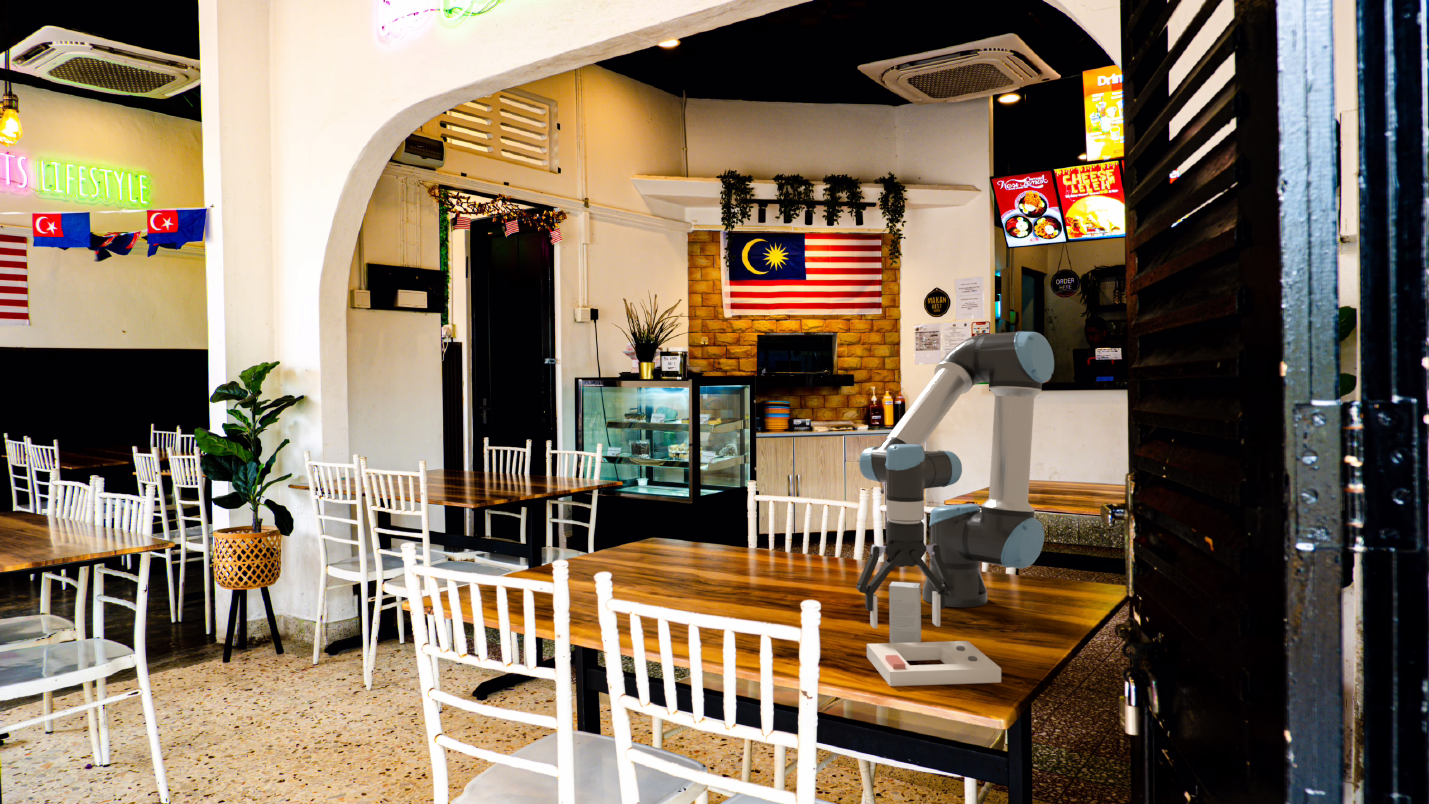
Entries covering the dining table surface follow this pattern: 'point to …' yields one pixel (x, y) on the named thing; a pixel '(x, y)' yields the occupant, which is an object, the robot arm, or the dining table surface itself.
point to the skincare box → (904, 612)
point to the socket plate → (957, 669)
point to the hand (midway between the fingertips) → (905, 625)
